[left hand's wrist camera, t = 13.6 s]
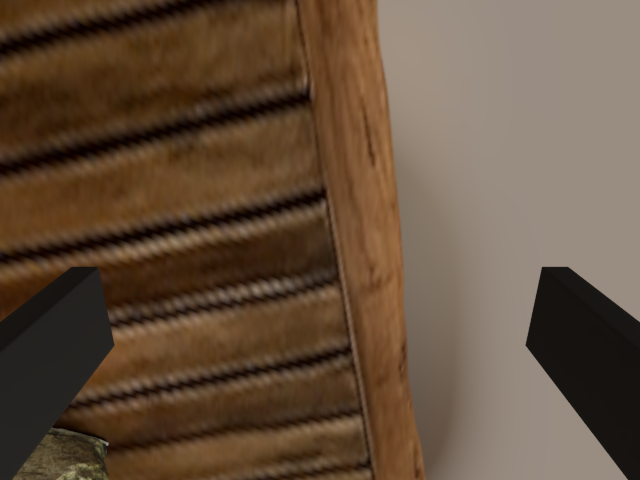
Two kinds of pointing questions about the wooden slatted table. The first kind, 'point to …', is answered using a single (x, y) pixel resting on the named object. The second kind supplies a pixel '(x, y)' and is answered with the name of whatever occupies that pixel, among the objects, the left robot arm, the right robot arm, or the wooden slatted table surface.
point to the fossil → (66, 458)
